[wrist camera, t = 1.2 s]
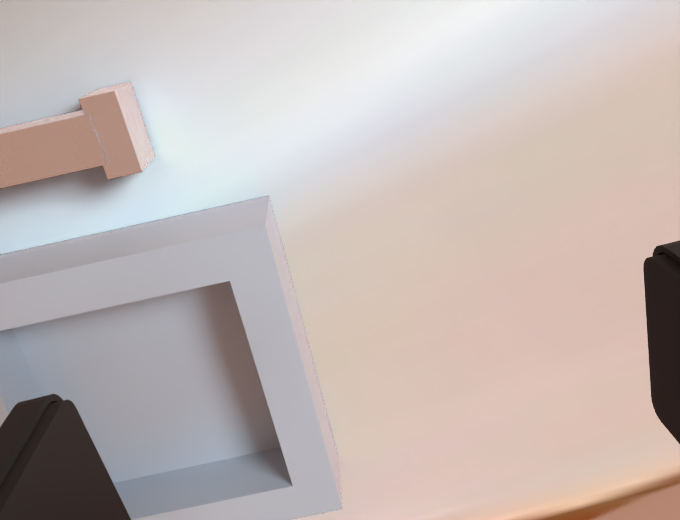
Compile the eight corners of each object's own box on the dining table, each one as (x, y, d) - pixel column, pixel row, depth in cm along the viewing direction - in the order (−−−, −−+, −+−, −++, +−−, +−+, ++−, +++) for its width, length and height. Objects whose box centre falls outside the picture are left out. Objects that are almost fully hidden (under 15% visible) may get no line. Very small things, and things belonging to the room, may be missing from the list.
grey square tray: (-51, 265, 30) (-100, 305, 26) (269, 195, 29) (265, 225, 26) (70, 510, 36) (44, 570, 32) (337, 454, 35) (342, 509, 32)
